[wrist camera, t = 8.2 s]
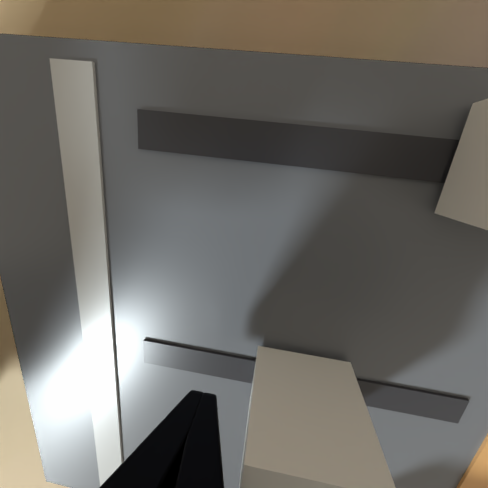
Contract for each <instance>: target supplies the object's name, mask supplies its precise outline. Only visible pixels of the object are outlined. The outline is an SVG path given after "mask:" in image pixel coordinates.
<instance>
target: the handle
mask: <svg viewBox="0 0 488 488" xmlns="http://www.w3.org/2000/svg"><path fill="white" fill-rule="evenodd" d="M434 213H435V214H438V215H442V216H445V217H448V218H451V219H454V220H457V221H460V222H463V223H466V224H470V225H473V226H476V227H479V228H482V229H485V230H488V99H485V100H482V101H478V102H475V103H473V104H472V107H471V109H470V112H469V115H468V118H467V121H466V124H465V127H464V129H463V132H462V135H461V138H460V141H459V144H458V147H457V149H456V152H455V155H454V158H453V161H452V164H451V167H450V169H449V172H448V175H447V178H446V181H445V184H444V187H443V189H442V192H441V195H440V198H439V201H438V204H437V207H436V209H435V212H434Z"/></svg>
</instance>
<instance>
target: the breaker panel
mask: <svg viewBox="0 0 488 488" xmlns="http://www.w3.org/2000/svg"><path fill="white" fill-rule="evenodd" d="M485 99H488V68H480V67H466V66H452V65H438V64H424V63H410V62H395V61H381V60H367V59H353V58H339V57H325V56H310V55H296V54H282V53H268V52H254V51H240V50H226V49H211V48H197V47H183V46H169V45H155V44H141V43H126V42H112V41H98V40H84V39H70V38H56V37H41V36H27V35H13V34H0V276H1V281H2V285H3V290H4V294H5V299H6V303H7V308H8V312H9V317H10V321H11V326H12V330H13V335H14V339H15V344H16V348H17V353H18V357H19V362H20V366H21V371H22V375H23V380H24V384H25V389H26V393H27V398H28V402H29V406H30V411H31V415H32V420H33V424H34V429H35V433H36V438H37V442H38V447H39V451H40V456H41V460H42V465H43V469H44V474H45V478H46V481H47V482H51V483H55V484H59V485H63V486H67V487H71V488H99V487H100V486H101V485H102V484H103V483H104V482H105V481H106V480H107V479H108V478H109V477H110V476H111V475H112V473H113V472H114V471H115V470H116V469H117V468H118V467H119V466H120V465H121V464H122V463H123V462H124V461H125V460H126V459H127V457H128V456H129V455H130V454H131V453H132V452H133V451H134V450H135V449H136V448H137V447H138V446H139V445H140V444H141V443H142V442H143V440H144V439H145V438H146V437H147V436H148V435H149V434H150V433H151V432H152V431H153V430H154V429H155V428H156V427H157V426H158V424H159V423H160V422H161V421H162V420H163V419H164V418H165V417H166V416H167V415H168V414H169V413H170V412H171V411H172V410H173V408H174V407H175V406H176V405H177V404H178V403H179V402H180V401H181V400H182V399H183V398H184V397H185V396H186V395H187V394H188V393H189V392H190V391H191V390H196V391H201V392H203V393H205V392H206V393H211V394H215V395H216V396H217V406H218V418H219V430H220V442H221V454H222V466H223V478H224V488H239V483H240V475H241V467H242V459H243V451H244V443H245V435H246V426H247V418H248V410H249V402H250V396H251V389H252V382H253V376H254V369H255V362H256V356H257V349H258V346H262V347H268V348H274V349H279V350H285V351H290V352H296V353H301V354H307V355H312V356H318V357H324V358H329V359H335V360H340V361H346V362H351V365H352V368H353V370H354V373H355V376H356V379H357V382H358V384H359V387H360V390H361V393H362V396H363V398H364V401H365V404H366V407H367V409H368V412H369V415H370V418H371V421H372V423H373V426H374V429H375V432H376V435H377V437H378V440H379V443H380V446H381V449H382V451H383V454H384V457H385V460H386V462H387V465H388V468H389V471H390V474H391V476H392V479H393V482H394V485H395V488H488V230H485V229H482V228H479V227H476V226H473V225H470V224H466V223H463V222H460V221H457V220H454V219H451V218H448V217H445V216H442V215H438V214H435V213H434V212H435V209H436V207H437V204H438V201H439V198H440V195H441V192H442V189H443V187H444V184H445V181H446V178H447V175H448V172H449V169H450V167H451V164H452V161H453V158H454V155H455V152H456V149H457V147H458V144H459V141H460V138H461V135H462V132H463V129H464V127H465V124H466V121H467V118H468V115H469V112H470V109H471V107H472V104H473V103H475V102H478V101H482V100H485Z"/></svg>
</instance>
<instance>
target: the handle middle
mask: <svg viewBox="0 0 488 488" xmlns="http://www.w3.org/2000/svg"><path fill="white" fill-rule="evenodd" d="M239 488H395V485H394V482H393V479H392V476H391V474H390V471H389V468H388V465H387V462H386V460H385V457H384V454H383V451H382V449H381V446H380V443H379V440H378V437H377V435H376V432H375V429H374V426H373V423H372V421H371V418H370V415H369V412H368V409H367V407H366V404H365V401H364V398H363V396H362V393H361V390H360V387H359V384H358V382H357V379H356V376H355V373H354V370H353V368H352V365H351V362H346V361H340V360H335V359H329V358H324V357H318V356H312V355H307V354H301V353H296V352H290V351H285V350H279V349H274V348H268V347H262V346H258V349H257V356H256V362H255V369H254V376H253V382H252V389H251V396H250V402H249V410H248V418H247V426H246V435H245V443H244V451H243V459H242V467H241V475H240V483H239Z"/></svg>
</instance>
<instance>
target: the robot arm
mask: <svg viewBox="0 0 488 488" xmlns="http://www.w3.org/2000/svg"><path fill="white" fill-rule="evenodd" d="M99 488H224V478H223V466H222V454H221V442H220V430H219V418H218V406H217V396H216V395H215V394H211V393H206V392H205V393H203V392H201V391H196V390H191V391H190V392H189V393H188V394H187V395H186V396H185V397H184V398H183V399H182V400H181V401H180V402H179V403H178V404H177V405H176V406H175V407H174V408H173V410H172V411H171V412H170V413H169V414H168V415H167V416H166V417H165V418H164V419H163V420H162V421H161V422H160V423H159V424H158V426H157V427H156V428H155V429H154V430H153V431H152V432H151V433H150V434H149V435H148V436H147V437H146V438H145V439H144V440H143V442H142V443H141V444H140V445H139V446H138V447H137V448H136V449H135V450H134V451H133V452H132V453H131V454H130V455H129V456H128V457H127V459H126V460H125V461H124V462H123V463H122V464H121V465H120V466H119V467H118V468H117V469H116V470H115V471H114V472H113V473H112V475H111V476H110V477H109V478H108V479H107V480H106V481H105V482H104V483H103V484H102V485H101V486H100V487H99Z"/></svg>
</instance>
